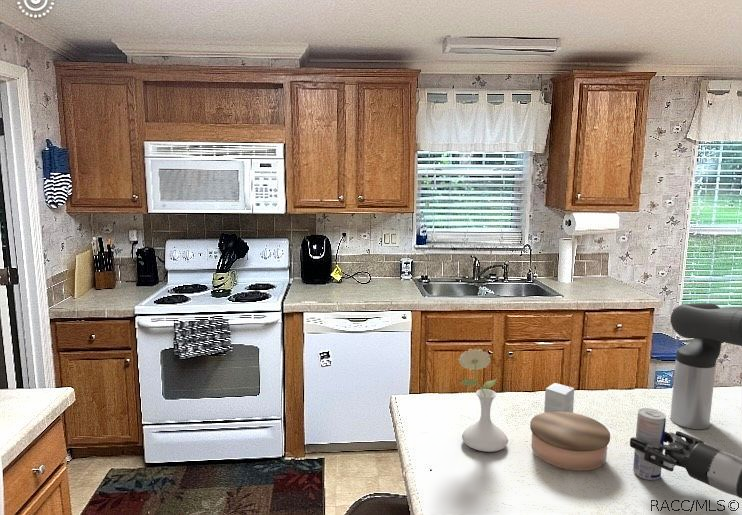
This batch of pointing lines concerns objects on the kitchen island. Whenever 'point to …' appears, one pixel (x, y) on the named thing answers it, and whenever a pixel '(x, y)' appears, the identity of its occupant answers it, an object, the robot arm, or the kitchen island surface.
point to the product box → (559, 398)
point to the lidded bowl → (569, 440)
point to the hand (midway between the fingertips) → (641, 436)
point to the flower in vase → (482, 407)
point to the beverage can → (649, 441)
